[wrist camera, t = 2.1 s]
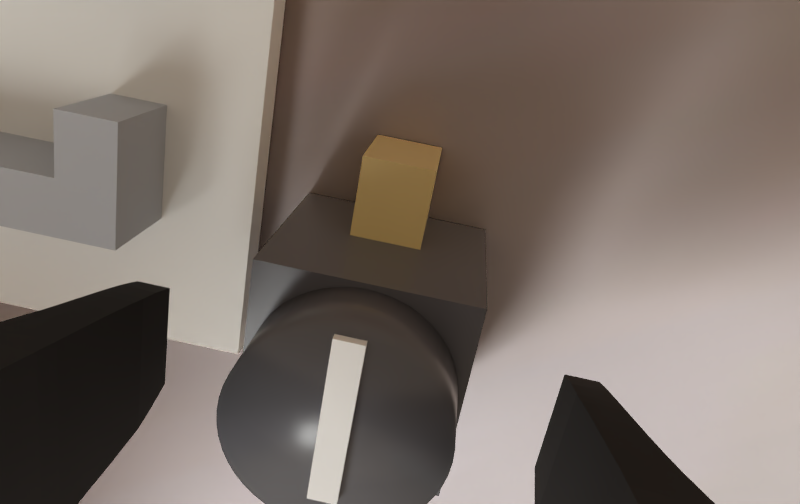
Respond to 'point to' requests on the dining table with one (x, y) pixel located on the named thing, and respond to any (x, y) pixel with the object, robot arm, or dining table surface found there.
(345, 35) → the dining table surface
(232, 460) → the knob
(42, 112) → the hub panel
